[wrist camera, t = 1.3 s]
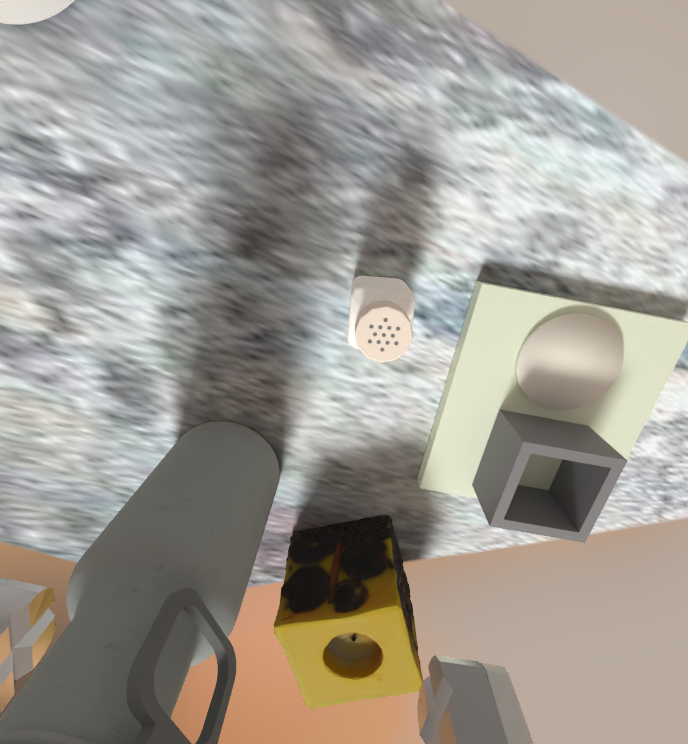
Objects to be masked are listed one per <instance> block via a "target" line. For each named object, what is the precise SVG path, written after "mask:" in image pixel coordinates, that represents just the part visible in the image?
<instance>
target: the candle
mask: <svg viewBox="0 0 688 744" xmlns="http://www.w3.org/2000/svg"><path fill="white" fill-rule="evenodd" d="M391 523H392V519H391V518H390V517H389V516H378V517H375V518H372V519H371V518H365V519H361V520H359V521H352V522H346V523H342V524H337V525H330V526H327V527H323V528H319V529H311V530H306V531H303V532H295V534H293V535H292V536H291V537H290V542H291V545H290V546H289V550H288V557H287V559H286V561H287V564H286V575H285V579H284V584H283V587H282V588H281V598H280V605H279V610H278V613H277V617H276V620H275V623H274V633H275V635H276V637H277V639H278V640H279V642H280V643H281V645H282V647H283V648H284V650H285V652H286V655H287V659H288V661H289V663H290V665H291V667H292V670H293V672H294V674H295V677H296V679H297V682H298V685H299V688H300V690H301V693H302V696H303V698H304V701H305V704H306V706H307V707H308V708H310V709H313V708H318V707H324V706H330V705H335V704H342V703H347V702H353V701H358V700H365V699H372V698H380V697H386V696H393V695H401V694H407V693H412V692H417V691H420V688H421V685H422V682H423V678H422V673H421V667H420V660H419V656H418V646H417V639H416V631H415V623H414V616H413V608H412V603H411V600H410V588H409V584H408V582H407V577H406V574H405V572H404V570H403V561H402V559H401V555H400V551H399V546H398V542H397V540H396V536H395V535H394V532H393V526H392V524H391Z"/></svg>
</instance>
